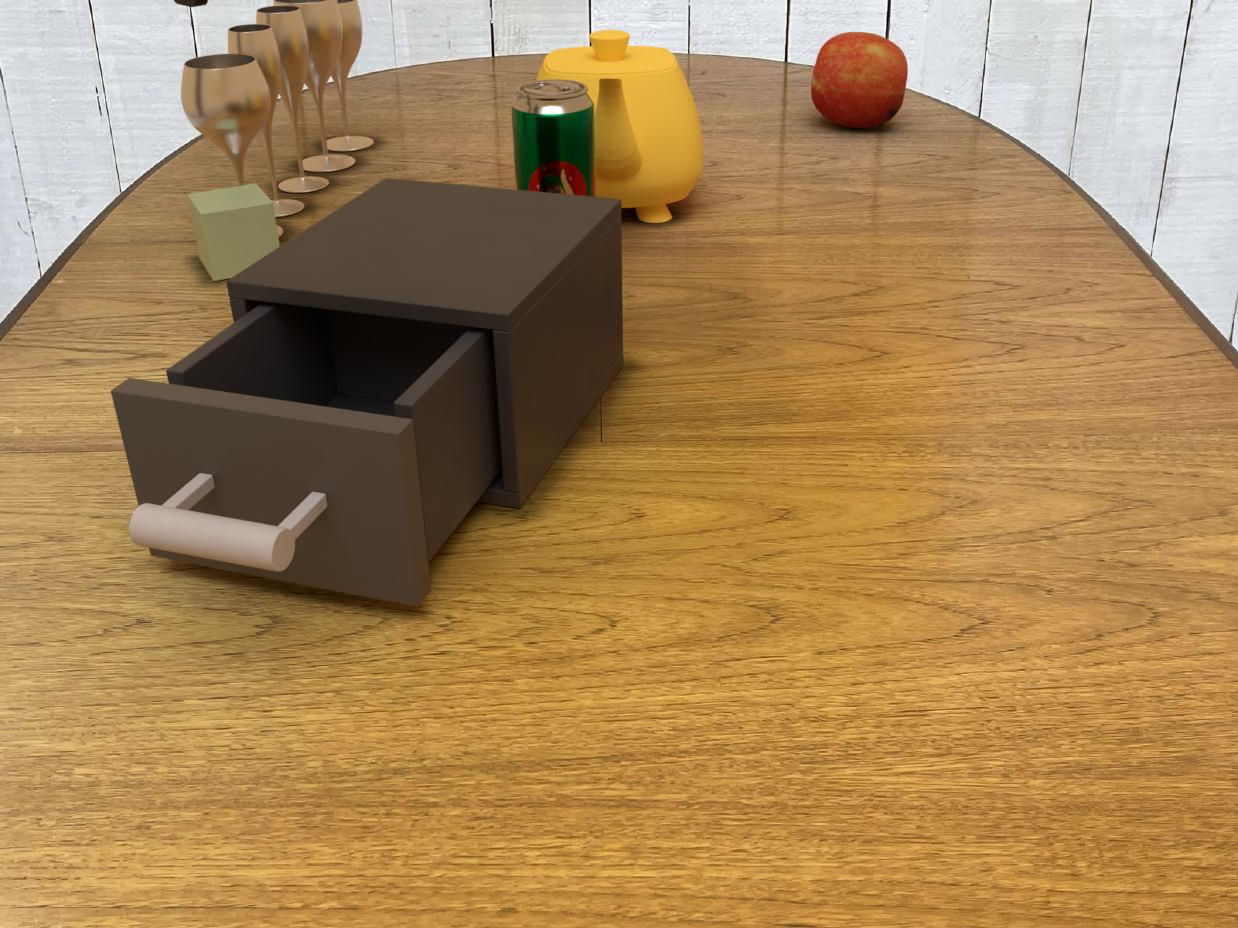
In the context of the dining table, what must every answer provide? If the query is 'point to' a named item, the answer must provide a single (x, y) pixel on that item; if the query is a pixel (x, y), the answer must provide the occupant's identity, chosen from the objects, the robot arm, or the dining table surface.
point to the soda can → (554, 138)
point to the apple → (859, 79)
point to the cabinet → (476, 294)
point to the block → (233, 228)
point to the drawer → (315, 448)
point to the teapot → (636, 120)
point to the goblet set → (277, 86)
